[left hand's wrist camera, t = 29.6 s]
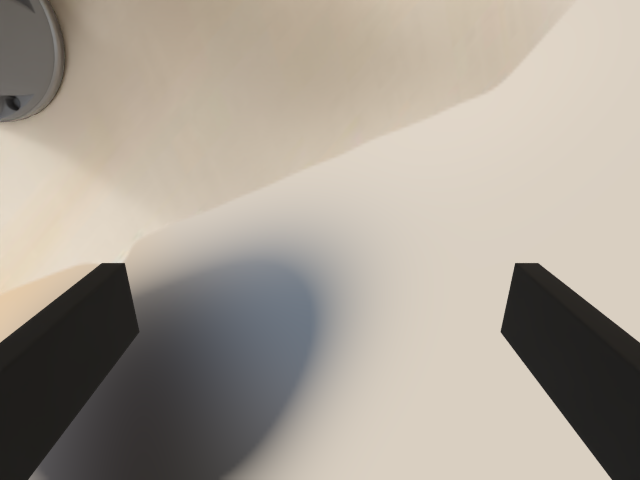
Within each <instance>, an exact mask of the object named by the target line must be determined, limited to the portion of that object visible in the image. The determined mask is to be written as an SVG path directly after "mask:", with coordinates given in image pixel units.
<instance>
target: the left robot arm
mask: <svg viewBox="0 0 640 480" xmlns="http://www.w3.org/2000/svg"><path fill="white" fill-rule="evenodd" d="M64 65H65V50H64V42H63V36H62V32H61V29H60V25H59V22H58V20H57V17H56V14H55V12H54V10H53V8H52V6H51V4H50V2H49V0H0V122H7V121H16V120H21V119H25V118H28V117H30V116H33V115H35V114H36V113H38V112H40V111H41V110H42V109H43V108H45V107H46V106H47V105H48V104H49V103H50V102H51V100H52V99H53V98H54V96H55V94H56V93H57V91H58V89H59V86H60V84H61V81H62V77H63V73H64ZM138 333H139V328H138V323H137V319H136V314H135V309H134V305H133V300H132V295H131V290H130V286H129V281H128V276H127V272H126V267H125V263H102V264H100V265H99V266H98V267H96V268H95V269H94V270H93V271H91V272H90V273H89V274H88V275H86V276H85V277H84V278H82V279H81V280H80V281H79V282H77V283H76V284H75V285H73V286H72V287H71V288H70V289H68V290H67V291H66V292H65V293H63V294H62V295H61V296H59V297H58V298H57V299H56V300H54V301H53V302H52V303H50V304H49V305H48V306H47V307H45V308H44V309H43V310H42V311H40V312H39V313H38V314H36V315H35V316H34V317H33V318H31V319H30V320H29V321H28V322H26V323H25V324H24V325H22V326H21V327H20V328H18V329H17V330H16V331H15V332H13V333H12V334H11V335H10V336H8V337H7V338H6V339H4V340H3V341H2V342H1V343H0V480H28V479H29V478H30V476H31V475H32V474H33V472H34V471H35V470H36V468H37V467H38V466H39V464H40V463H41V462H42V460H43V459H44V458H45V456H46V455H47V454H48V452H49V451H50V450H51V449H52V447H53V446H54V445H55V443H56V442H57V441H58V439H59V438H60V437H61V435H62V434H63V433H64V431H65V430H66V429H67V427H68V426H69V425H70V423H71V422H72V421H73V419H74V418H75V417H76V415H77V414H78V413H79V411H80V410H81V409H82V407H83V406H84V405H85V403H86V402H87V401H88V399H89V398H90V397H91V395H92V394H93V393H94V391H95V390H96V389H97V387H98V386H99V385H100V383H101V382H102V381H103V380H104V378H105V377H106V375H107V374H108V373H109V372H110V370H111V369H112V368H113V366H114V365H115V364H116V362H117V361H118V360H119V358H120V357H121V356H122V354H123V353H124V352H125V350H126V349H127V348H128V346H129V345H130V344H131V342H132V341H133V340H134V338H135V337H136V336H137V334H138ZM501 333H502V334H503V336H504V337H505V338H506V340H507V341H508V342H509V344H510V345H511V346H512V348H513V349H514V350H515V352H516V353H517V354H518V356H519V357H520V358H521V360H522V361H523V362H524V364H525V365H526V366H527V368H528V369H529V370H530V372H531V373H532V374H533V376H534V377H535V378H536V380H537V381H538V382H539V383H540V385H541V386H542V388H543V389H544V390H545V392H546V393H547V394H548V395H549V397H550V398H551V399H552V401H553V402H554V403H555V405H556V406H557V407H558V409H559V410H560V411H561V413H562V414H563V415H564V417H565V418H566V419H567V421H568V422H569V423H570V425H571V426H572V427H573V429H574V430H575V431H576V433H577V434H578V435H579V437H580V438H581V439H582V441H583V442H584V443H585V444H586V446H587V447H588V448H589V450H590V451H591V452H592V454H593V455H594V456H595V458H596V459H597V460H598V462H599V463H600V464H601V466H602V467H603V468H604V470H605V471H606V472H607V474H608V475H609V476H610V478H611V479H612V480H640V343H639V342H638V341H637V340H636V339H634V338H633V337H632V336H630V335H629V334H628V333H627V332H625V331H624V330H623V329H622V328H620V327H619V326H618V325H616V324H615V323H614V322H613V321H611V320H610V319H609V318H607V317H606V316H605V315H604V314H602V313H601V312H600V311H599V310H597V309H596V308H595V307H593V306H592V305H591V304H590V303H588V302H587V301H586V300H584V299H583V298H582V297H581V296H579V295H578V294H577V293H576V292H574V291H573V290H572V289H570V288H569V287H568V286H567V285H565V284H564V283H563V282H561V281H560V280H559V279H558V278H556V277H555V276H554V275H552V274H551V273H550V272H549V271H547V270H546V269H545V268H544V267H542V266H541V265H540V264H538V263H515V267H514V272H513V276H512V281H511V286H510V291H509V295H508V300H507V305H506V309H505V314H504V319H503V323H502V328H501Z"/></svg>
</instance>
